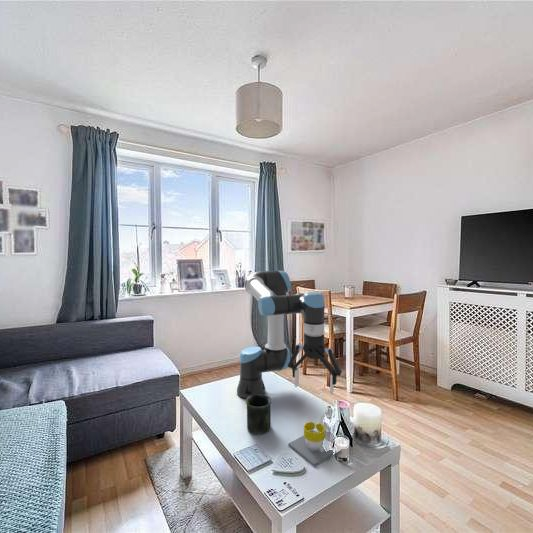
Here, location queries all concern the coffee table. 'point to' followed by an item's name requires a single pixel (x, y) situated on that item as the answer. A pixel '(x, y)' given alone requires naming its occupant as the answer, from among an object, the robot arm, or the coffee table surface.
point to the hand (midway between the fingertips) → (313, 389)
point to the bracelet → (314, 436)
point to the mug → (258, 413)
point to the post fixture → (310, 450)
